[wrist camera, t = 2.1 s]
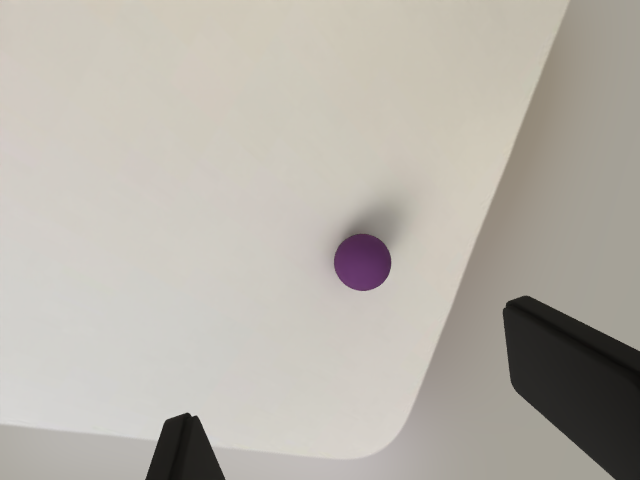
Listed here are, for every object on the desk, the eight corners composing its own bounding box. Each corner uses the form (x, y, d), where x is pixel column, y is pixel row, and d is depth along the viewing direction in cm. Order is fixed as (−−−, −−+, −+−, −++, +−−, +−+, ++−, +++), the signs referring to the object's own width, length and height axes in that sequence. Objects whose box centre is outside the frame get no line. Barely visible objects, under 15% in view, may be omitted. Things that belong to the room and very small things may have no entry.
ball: (366, 219, 26) (386, 230, 22) (387, 263, 27) (409, 280, 23) (319, 245, 26) (331, 260, 22) (342, 288, 27) (358, 310, 23)
